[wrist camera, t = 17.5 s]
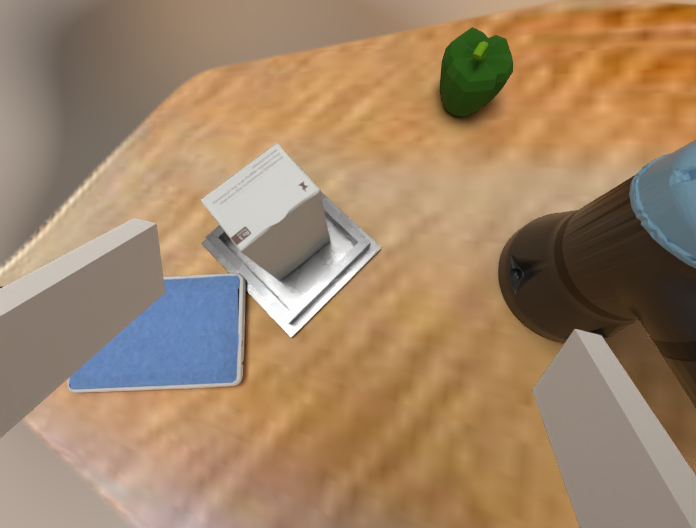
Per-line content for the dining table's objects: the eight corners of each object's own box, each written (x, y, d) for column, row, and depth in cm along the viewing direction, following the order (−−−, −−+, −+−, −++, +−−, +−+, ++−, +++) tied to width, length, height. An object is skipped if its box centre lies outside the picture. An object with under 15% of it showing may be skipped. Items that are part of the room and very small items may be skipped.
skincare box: (302, 207, 43) (279, 135, 29) (333, 243, 42) (324, 186, 27) (248, 249, 42) (194, 195, 27) (278, 286, 40) (238, 251, 26)
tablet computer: (247, 273, 41) (243, 271, 40) (243, 385, 38) (239, 386, 36) (89, 282, 42) (80, 280, 40) (73, 392, 38) (63, 394, 37)
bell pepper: (463, 65, 49) (491, -6, 39) (502, 104, 48) (541, 41, 38) (417, 95, 48) (435, 30, 38) (456, 136, 46) (485, 79, 37)
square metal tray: (292, 167, 45) (288, 154, 42) (380, 249, 42) (383, 241, 40) (204, 245, 43) (193, 237, 40) (292, 337, 40) (287, 336, 37)
